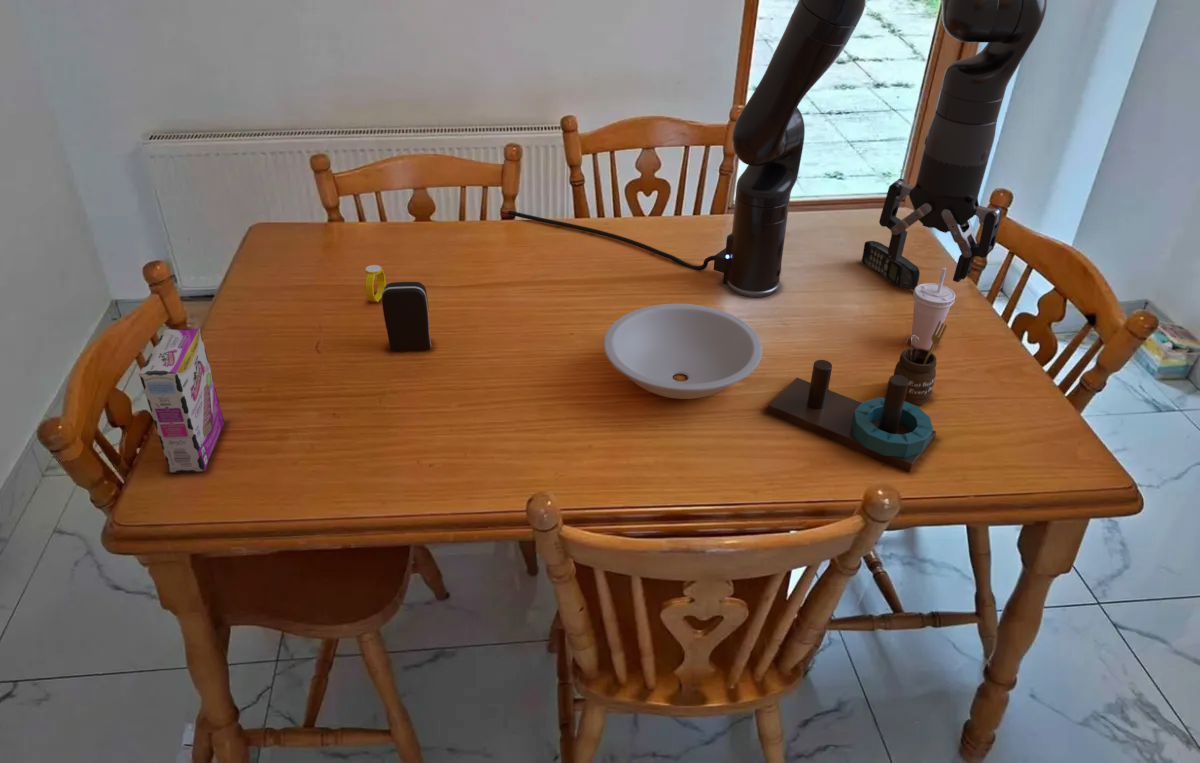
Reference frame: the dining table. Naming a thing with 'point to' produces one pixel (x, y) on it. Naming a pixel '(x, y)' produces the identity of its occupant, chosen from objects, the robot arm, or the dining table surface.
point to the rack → (842, 412)
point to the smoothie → (930, 310)
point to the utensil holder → (919, 369)
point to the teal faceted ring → (892, 442)
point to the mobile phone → (890, 265)
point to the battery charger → (406, 316)
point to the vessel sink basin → (682, 349)
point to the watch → (369, 284)
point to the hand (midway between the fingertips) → (926, 268)
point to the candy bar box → (183, 399)
